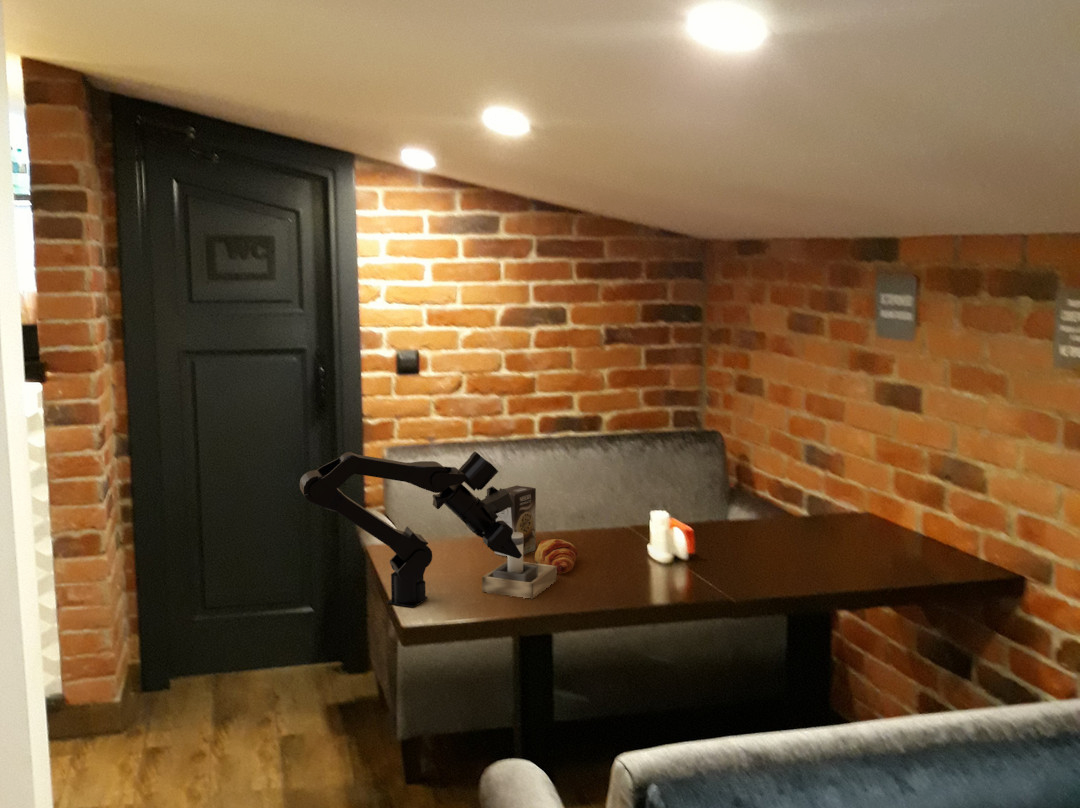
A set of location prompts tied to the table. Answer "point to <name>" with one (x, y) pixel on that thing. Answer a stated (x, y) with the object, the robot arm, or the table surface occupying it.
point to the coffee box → (521, 515)
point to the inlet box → (520, 580)
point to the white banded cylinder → (514, 563)
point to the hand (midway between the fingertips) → (513, 551)
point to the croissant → (556, 554)
